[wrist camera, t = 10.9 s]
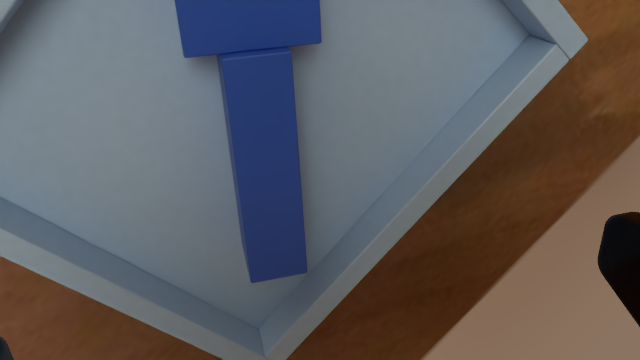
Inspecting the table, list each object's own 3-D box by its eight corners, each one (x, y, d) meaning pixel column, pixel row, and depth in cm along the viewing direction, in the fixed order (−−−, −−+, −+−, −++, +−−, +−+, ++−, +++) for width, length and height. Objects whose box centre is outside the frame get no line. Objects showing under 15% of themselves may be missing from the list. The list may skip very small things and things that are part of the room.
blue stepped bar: (318, 232, 19) (335, 268, 17) (215, 250, 19) (221, 290, 17) (298, -126, 14) (318, -131, 12) (155, -120, 14) (154, -124, 12)
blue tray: (230, -365, 12) (241, -411, 11) (548, 26, 19) (589, 39, 17) (-119, 151, 15) (-157, 184, 14) (258, 340, 22) (266, 380, 20)
